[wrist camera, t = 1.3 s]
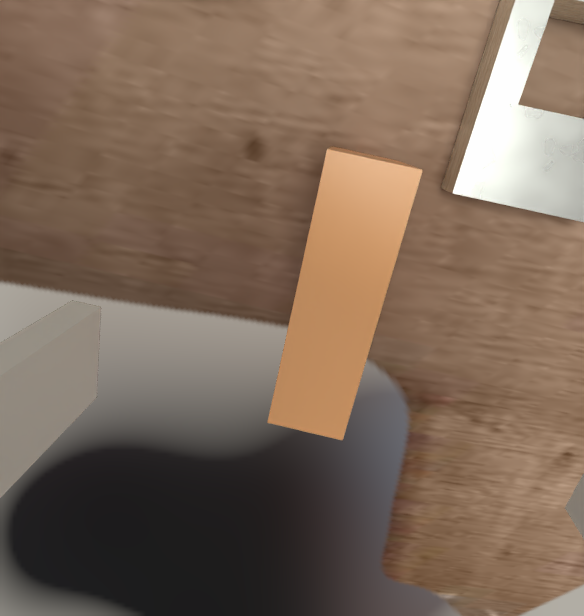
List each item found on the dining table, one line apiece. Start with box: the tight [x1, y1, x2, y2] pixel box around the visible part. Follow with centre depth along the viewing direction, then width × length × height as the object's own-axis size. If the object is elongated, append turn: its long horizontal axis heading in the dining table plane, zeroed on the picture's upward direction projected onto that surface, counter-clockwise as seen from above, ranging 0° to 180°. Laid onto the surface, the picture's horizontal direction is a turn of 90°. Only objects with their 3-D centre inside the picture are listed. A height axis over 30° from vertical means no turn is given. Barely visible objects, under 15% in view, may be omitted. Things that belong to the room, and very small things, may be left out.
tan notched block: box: [268, 146, 423, 440], centre depth 23 cm, size 4×12×11 cm, turn 168°
